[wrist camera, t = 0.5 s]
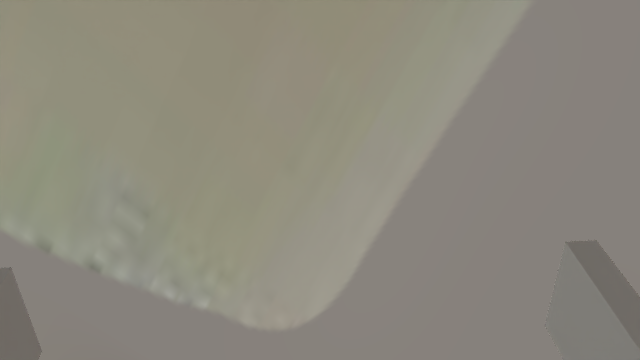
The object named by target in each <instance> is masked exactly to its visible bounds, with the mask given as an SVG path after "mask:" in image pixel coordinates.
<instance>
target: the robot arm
mask: <svg viewBox="0 0 640 360" xmlns="http://www.w3.org/2000/svg"><path fill="white" fill-rule="evenodd" d="M545 327H546V329H547V331H548V332H549V334H550V336H551V338H552V340H553V342H554V344H555V346H556V347H557V349H558V351H559V353H560V355H561V357H562V359H563V360H640V297H639V295H638V294H637V293H636V291H635V290H634V289H633V288H632V286H631V285H630V284H629V282H628V281H627V280H626V278H625V277H624V276H623V274H622V273H621V272H620V270H619V269H618V268H617V267H616V265H615V264H614V263H613V261H612V260H611V259H610V257H609V256H608V255H607V253H606V252H605V251H604V250H603V248H602V247H601V246H600V244H599V243H598V242H597V241H596V240H595V241H574V242H573V241H572V242H565V246H564V250H563V254H562V258H561V262H560V266H559V270H558V274H557V278H556V282H555V286H554V290H553V294H552V298H551V302H550V306H549V310H548V314H547V318H546V322H545ZM41 352H42V350H41V347H40V345H39V342H38V339H37V336H36V334H35V331H34V328H33V326H32V323H31V320H30V317H29V314H28V312H27V309H26V306H25V304H24V301H23V298H22V295H21V293H20V290H19V287H18V284H17V282H16V279H15V276H14V273H13V271H12V268H11V267H10V268H0V360H38V359H39V357H40V355H41Z"/></svg>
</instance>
